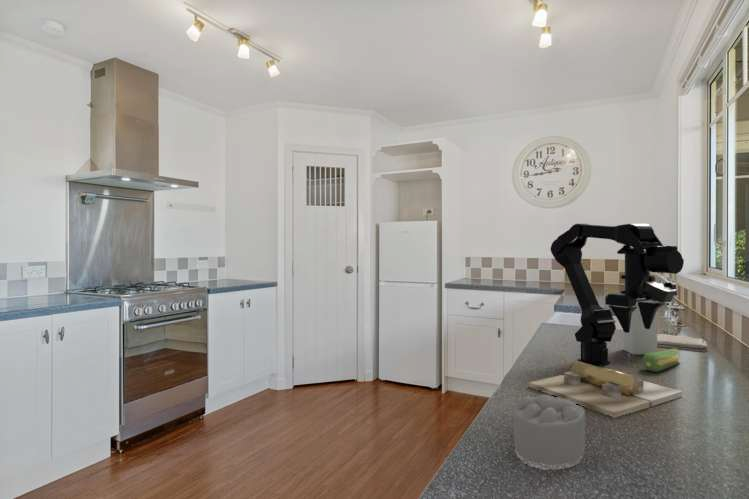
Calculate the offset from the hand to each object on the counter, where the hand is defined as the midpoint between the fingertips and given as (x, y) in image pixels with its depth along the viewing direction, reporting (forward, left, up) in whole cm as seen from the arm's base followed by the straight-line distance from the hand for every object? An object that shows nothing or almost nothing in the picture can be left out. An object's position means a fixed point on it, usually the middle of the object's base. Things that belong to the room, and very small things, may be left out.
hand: (637, 330), depth 115 cm
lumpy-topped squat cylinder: (+17, -55, -12) cm, 59 cm away
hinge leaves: (+3, -19, -12) cm, 23 cm away
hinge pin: (+3, -19, -11) cm, 22 cm away
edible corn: (-1, +15, -12) cm, 20 cm away
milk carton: (-14, +25, -12) cm, 31 cm away
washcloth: (-14, +45, -13) cm, 49 cm away
